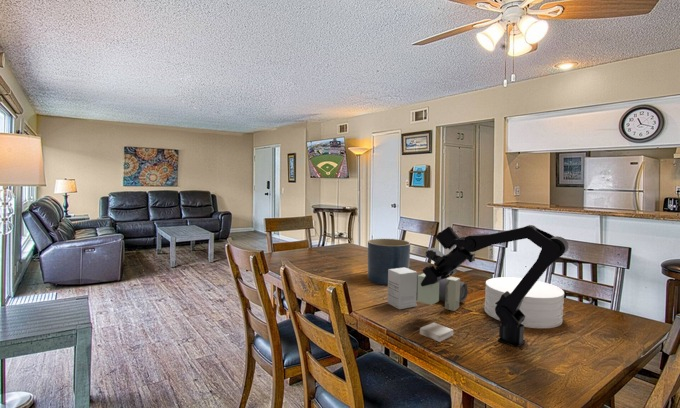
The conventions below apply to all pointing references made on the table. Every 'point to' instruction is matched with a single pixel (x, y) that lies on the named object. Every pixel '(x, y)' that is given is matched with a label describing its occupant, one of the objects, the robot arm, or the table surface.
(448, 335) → the base block
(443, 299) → the bluetooth speaker
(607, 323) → the table surface
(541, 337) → the table surface
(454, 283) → the box
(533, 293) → the plate stack
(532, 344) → the table surface
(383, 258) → the planter
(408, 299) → the supplement box
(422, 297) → the green block
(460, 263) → the robot arm
